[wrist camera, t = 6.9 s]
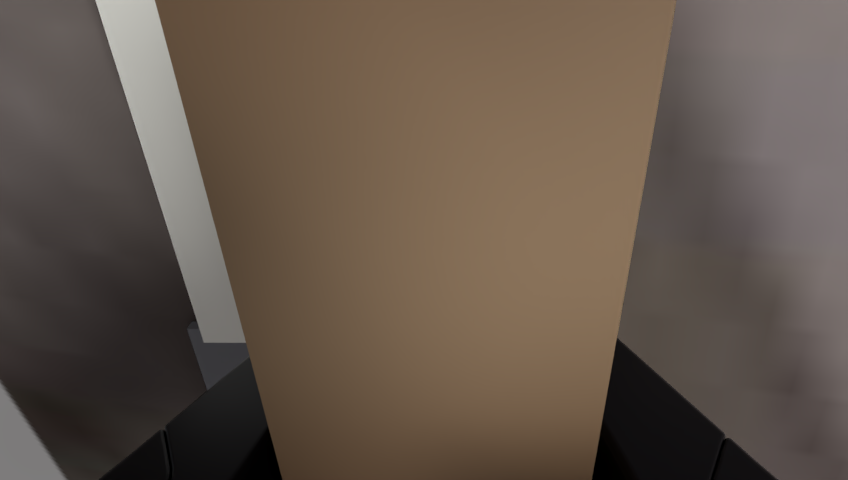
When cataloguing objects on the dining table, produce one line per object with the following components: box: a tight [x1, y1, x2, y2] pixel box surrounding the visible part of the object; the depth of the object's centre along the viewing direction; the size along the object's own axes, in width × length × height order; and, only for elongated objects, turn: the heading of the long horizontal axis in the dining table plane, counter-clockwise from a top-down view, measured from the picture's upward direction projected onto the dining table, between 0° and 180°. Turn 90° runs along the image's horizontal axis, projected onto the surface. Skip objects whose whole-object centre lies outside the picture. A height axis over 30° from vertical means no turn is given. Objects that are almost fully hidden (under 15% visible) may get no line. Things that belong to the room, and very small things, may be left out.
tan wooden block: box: [155, 0, 676, 480], centre depth 7 cm, size 14×3×5 cm, turn 2°
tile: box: [95, 0, 246, 343], centre depth 15 cm, size 12×2×8 cm
